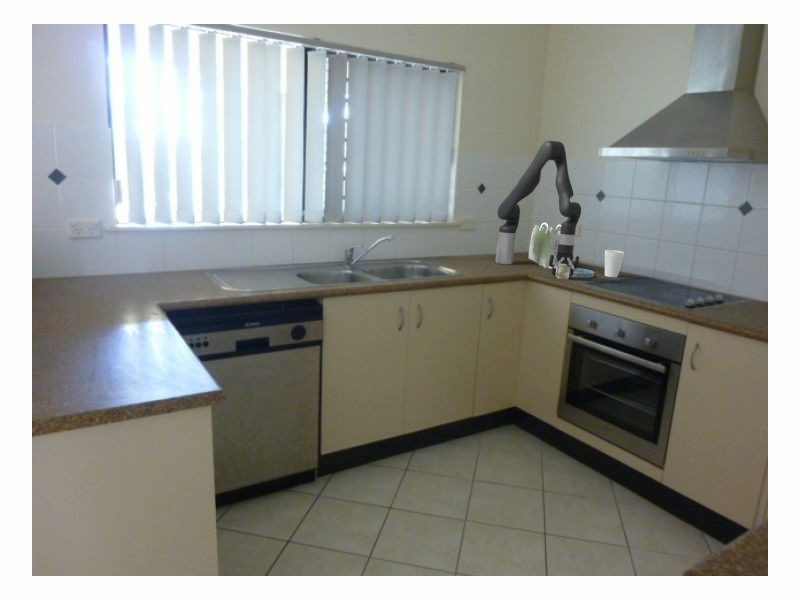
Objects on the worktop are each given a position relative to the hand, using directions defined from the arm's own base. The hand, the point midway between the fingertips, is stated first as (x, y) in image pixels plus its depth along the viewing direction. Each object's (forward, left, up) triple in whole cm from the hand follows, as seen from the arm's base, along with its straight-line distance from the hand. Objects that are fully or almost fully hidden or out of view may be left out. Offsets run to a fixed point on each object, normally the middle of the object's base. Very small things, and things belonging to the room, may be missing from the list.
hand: (562, 276), depth 281 cm
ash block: (0, 0, -1) cm, 1 cm away
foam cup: (+30, +14, -1) cm, 33 cm away
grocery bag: (+4, +44, -1) cm, 44 cm away
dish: (+11, +11, -1) cm, 16 cm away
